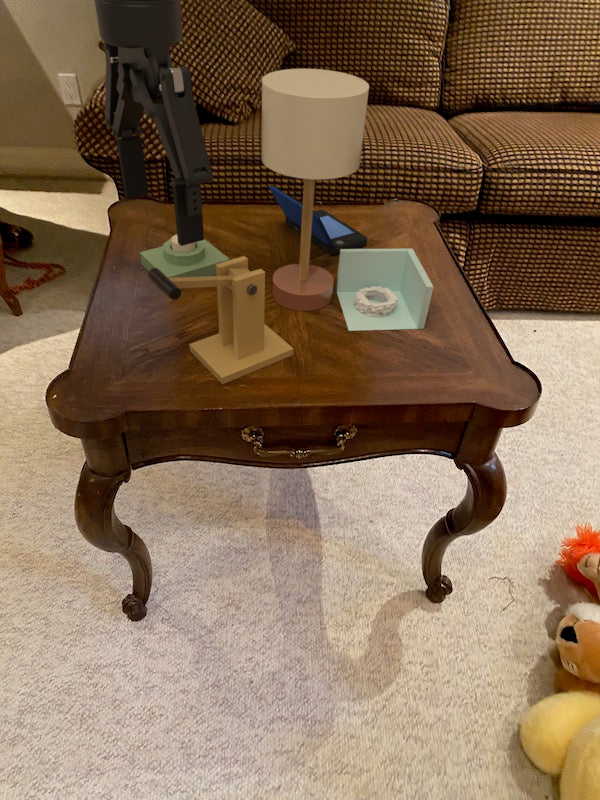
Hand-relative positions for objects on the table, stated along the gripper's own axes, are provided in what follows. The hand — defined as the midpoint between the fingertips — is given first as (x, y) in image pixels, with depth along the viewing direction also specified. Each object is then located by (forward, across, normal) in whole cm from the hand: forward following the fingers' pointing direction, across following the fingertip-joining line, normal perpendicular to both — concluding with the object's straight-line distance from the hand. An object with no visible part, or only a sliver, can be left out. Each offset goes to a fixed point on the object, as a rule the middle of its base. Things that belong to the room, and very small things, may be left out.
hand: (162, 217), depth 66 cm
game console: (+23, +22, -41) cm, 52 cm away
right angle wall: (+23, -3, -34) cm, 41 cm away
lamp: (+22, +7, -26) cm, 35 cm away
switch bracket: (+22, -1, -9) cm, 24 cm away
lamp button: (+19, +25, -14) cm, 34 cm away
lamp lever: (+10, -1, -4) cm, 11 cm away
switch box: (+22, +25, -14) cm, 36 cm away
